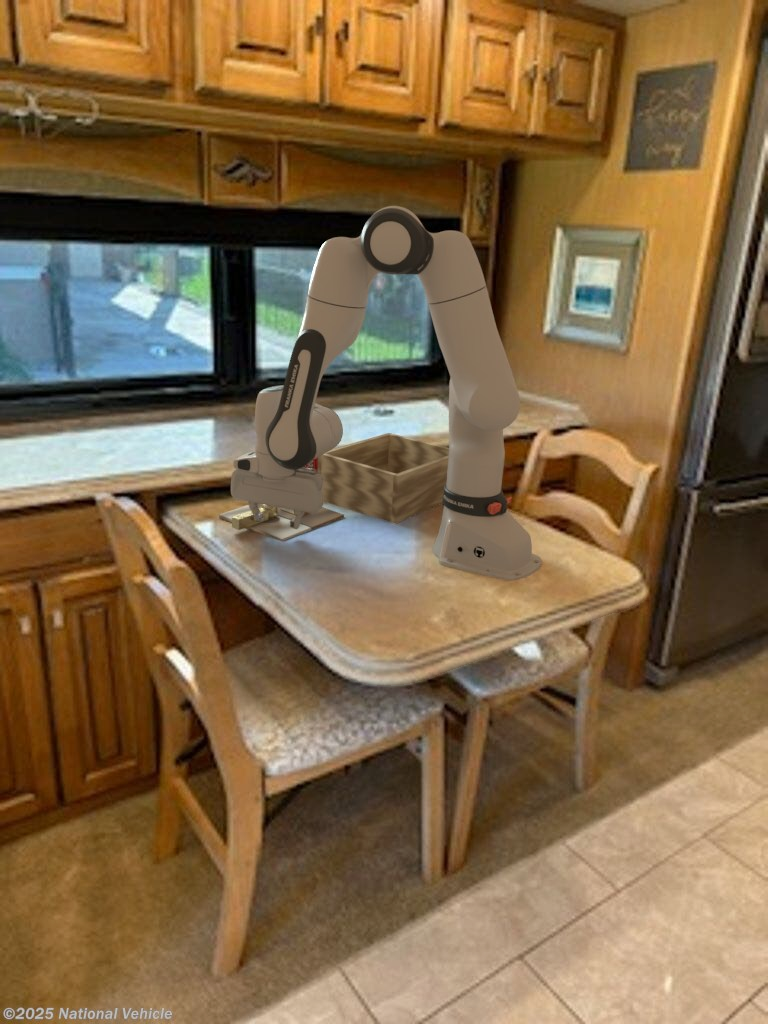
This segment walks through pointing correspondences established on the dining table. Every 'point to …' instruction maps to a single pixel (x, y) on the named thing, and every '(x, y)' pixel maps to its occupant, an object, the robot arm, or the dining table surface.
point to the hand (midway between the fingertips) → (276, 524)
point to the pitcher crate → (385, 476)
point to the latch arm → (248, 517)
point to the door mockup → (286, 521)
